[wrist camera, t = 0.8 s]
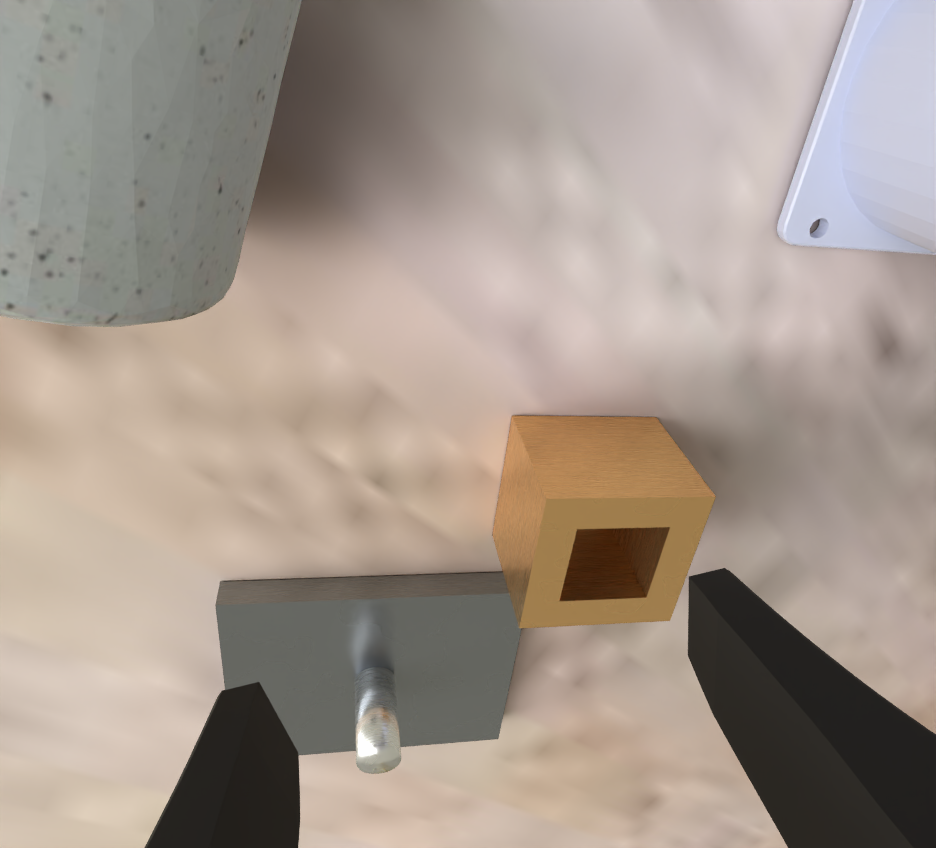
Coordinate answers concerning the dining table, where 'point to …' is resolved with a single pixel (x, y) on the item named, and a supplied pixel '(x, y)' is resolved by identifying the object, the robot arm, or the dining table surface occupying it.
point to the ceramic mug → (131, 152)
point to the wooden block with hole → (596, 520)
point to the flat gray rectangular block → (374, 658)
